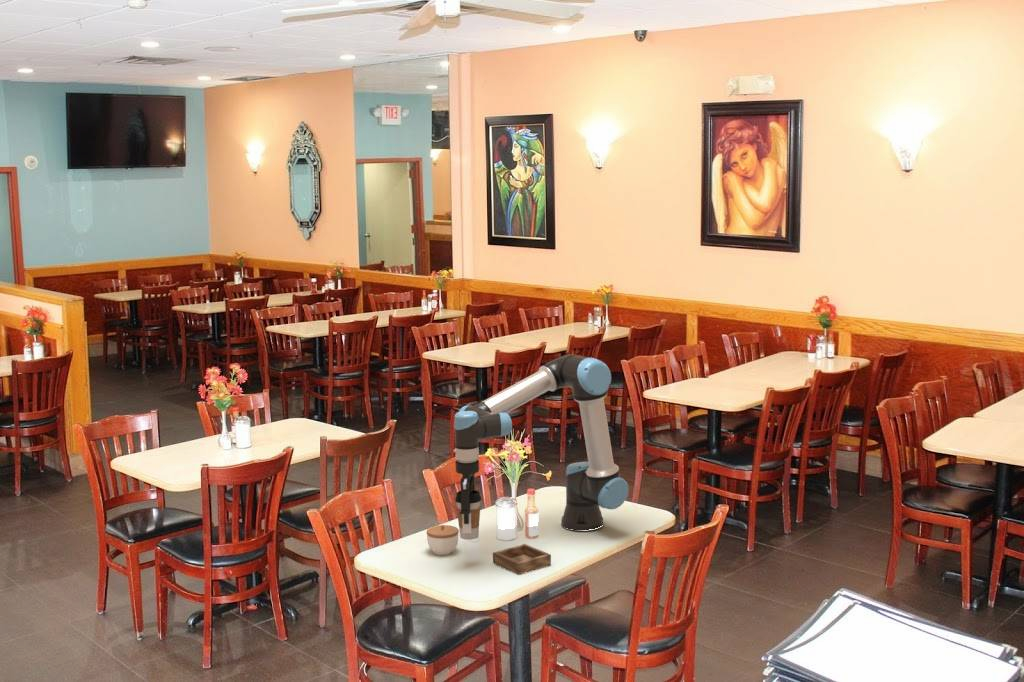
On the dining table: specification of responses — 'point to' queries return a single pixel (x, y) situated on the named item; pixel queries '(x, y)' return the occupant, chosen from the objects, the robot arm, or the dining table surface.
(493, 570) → the dining table surface
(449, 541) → the lidded jar
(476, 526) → the coffee cup
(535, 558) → the square brown tray
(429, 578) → the dining table surface
